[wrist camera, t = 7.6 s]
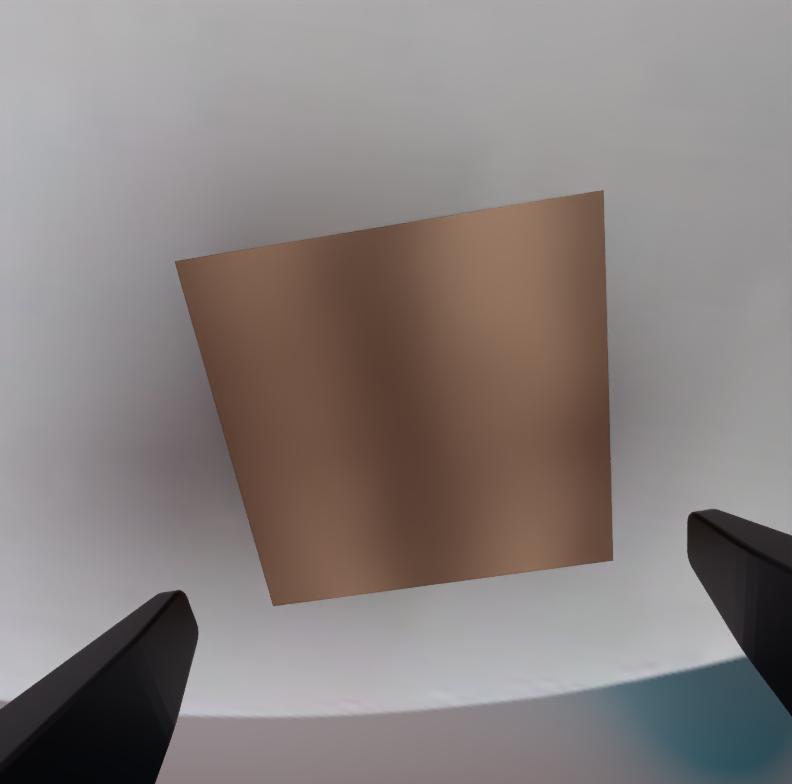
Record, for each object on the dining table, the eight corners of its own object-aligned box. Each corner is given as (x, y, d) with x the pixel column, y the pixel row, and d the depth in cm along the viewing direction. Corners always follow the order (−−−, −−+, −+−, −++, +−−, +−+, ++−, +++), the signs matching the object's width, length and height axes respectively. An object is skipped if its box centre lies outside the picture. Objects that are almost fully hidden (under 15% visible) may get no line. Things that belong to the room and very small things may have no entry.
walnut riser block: (566, 198, 16) (603, 190, 13) (581, 513, 20) (613, 560, 17) (212, 256, 17) (174, 261, 14) (290, 554, 20) (273, 606, 17)
